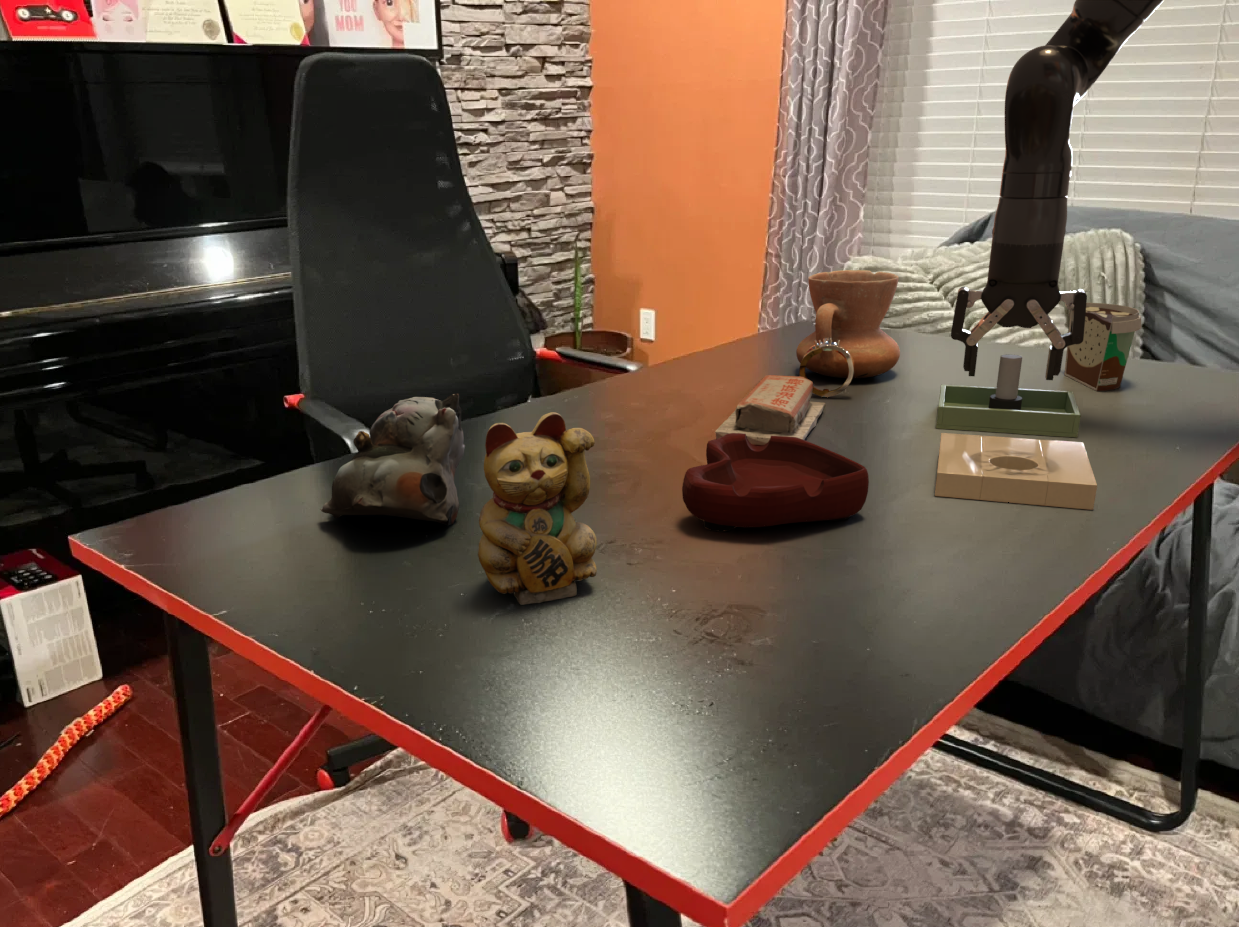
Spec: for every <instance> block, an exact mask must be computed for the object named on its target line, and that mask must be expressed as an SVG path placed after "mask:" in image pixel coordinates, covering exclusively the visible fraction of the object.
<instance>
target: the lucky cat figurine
mask: <svg viewBox="0 0 1239 927" xmlns="http://www.w3.org/2000/svg"><path fill="white" fill-rule="evenodd" d="M464 440H465V439H464V430H463V428H462V408H461V407H460V394H459V393H453V394H451V395H449V396H447V398H445V399H443V400H439V399H436V398H435V397H427V396H426V397H425V396H413V397H410V398H405V399H400V400H398V401H397V403H395V404H394V405H393V407H392V408H390V409H389V408H388V410H385V411H384V412H383V413H381V414H380V415H379V416H378V417H377V418H376V420H375V421H374V422H373V424H372V425H371V427H370V429H369V433H368V432H366V431H363V430H359V431H358V432H357V434H356V435H355V438H353V442H352V443H353V445H354V446H355V448H356V450H357V453H356V454H355V455H354V456H352V458H351V459H350V461H348V462H347V463H345V464H343V465H342V466H340V467H339V469H338V471H337V473H336V474H335V477H334V479H333V481H332V483H331V497H330V500H329V501H326V502H325V503H323V505H322V508H319V510H320V511H321V512H322V513H324V514H329V515H331V516H332V517H334V518H335V519H339V518H340V517H342V516H389V517H397V518H403V519H404V518H405V519H412V520H420V521H427V522H436V523H439V524H442V525H445V526H450V525H453V524H454V522H455V520H456V519H457V517H458V514H459V508H460V503H459V502H460V500H459V497H458V490H457V487H456V485H455V475H456V470H457V468H458V466H459V464H460V462H461V460H462V459H463V457H464V454H465V447H466V445H465V443H464Z"/></svg>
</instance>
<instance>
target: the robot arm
mask: <svg viewBox="0 0 1239 927" xmlns="http://www.w3.org/2000/svg"><path fill="white" fill-rule="evenodd" d="M1164 1H1165V0H1075V1H1074V3H1073V6H1072V10H1071V12H1070V14H1069V15H1068V16H1067V18H1066V19H1065V21H1064V22H1063V23H1062V24H1061V25H1060V27H1059V28H1058V29H1057V30H1056V31H1055V33H1054V34H1053V35H1052V37H1050V39H1049V40H1048V41H1047V42H1046V43H1045V45H1040V46H1037V47H1034V48H1032V49H1030V50H1029V51H1028V50H1027V51H1026V52H1025V53H1024V54H1023V55H1022V56H1021V57H1020V58H1019V59H1017V61H1016V62H1015V64H1014V65H1013V67H1012V69H1011V71H1010V73H1009V76H1008V79H1007V83H1006V89H1005V96H1004V144H1005V147H1004V148H1005V152H1004V153H1005V154H1004V160H1003V164H1002V172H1001V178H1000V180H1001V181H1000V188H999V198H998V204H997V206H996V210H995V213H994V214H995V215H994V221H993V227H992V230H991V235H992V237H991V245H990V254H989V263H988V271H987V281H986V283H985V287H984V288H983V289H971V288H970V289H969V288H968V287H967V286H960V287H959V289H958V290H957V294H956V300H955V307H954V313H953V317H952V318H953V319H952V324H951V331H950V332H951V333H950V337H951V339H952V340H953V341H954V340H955V341H959V342H960V343H962V344H964V356H963V365H962V366H963V367H962V368H963V370H964V372H968V377H976V369H977V359H978V352H979V342H980V341H981V340H982V339H983V337H984V336H986V335H987V333H989V332H990V331H991V330H992V329H993V328H994V327H995V326H996V325H998V326H1000V327H1001V328H1014V327H1018V328H1019V327H1020V328H1023V329H1032V328H1034V327H1036V326H1038V325H1039V327H1040V328H1041V329H1042V331H1043V333H1044V334H1045V335H1046V337H1047V338H1048V340H1049V341H1050V342H1051V345H1049V346H1048V355H1047V362H1046V368H1045V381H1053V380H1054V377H1055V376H1059V375H1060V373H1061V371H1062V363H1063V356H1064V352H1065V349H1067V346H1070V345H1074V344H1080V343H1082V342H1083V339H1084V327H1085V315H1086V304H1087V303H1088V295H1087V293H1086V291H1085V290H1084V289H1082V288H1077V289H1075V290H1073V291H1071V290H1070V291H1060V289H1059V279H1060V272H1061V264H1062V259H1063V258H1062V257H1063V250H1064V244H1065V243H1064V242H1065V236H1066V232H1067V231H1066V230H1067V222H1068V199H1069V198H1068V196H1069V189H1070V182H1071V176H1072V167H1073V148H1072V146H1071V144H1070V134H1071V129H1072V128H1071V127H1072V119H1073V111H1074V106H1075V105H1076V104H1078V102H1079V101H1080V100H1081V99H1082V98H1083V97H1084V96H1085V95H1086V94H1087V92H1088V91H1089V90H1090V89H1091V88H1092V86H1094V84H1095V83H1096V81H1097V80H1098V79H1099V78H1100V76H1101V75H1102V74H1103V72H1104V71H1105V70H1106V68H1107V67H1108V66H1109V65H1110V63H1111V62H1112V60H1113V59H1114V58H1115V56H1116V55H1117V54H1118V52H1119V51H1120V49H1121V48H1122V46H1123V45H1125V43H1126V42H1127V41H1128V39H1129V38H1130V37H1131V36H1132V35H1133V34H1135V32H1136V31H1137V30H1138V29H1139V28H1141V27H1142V26H1143V24H1145V21H1147V20H1148V19H1149V18H1150V16H1151V15H1152V14H1153V13H1154V12H1155V10H1157V9H1158V8H1159V7H1160V5H1161V4H1162V3H1163V2H1164ZM978 300H981V303H982V304H983V305H984V307H985V308H986V310H987V311H988V312H986V314H984V316H983V317H981V319H979V321H978V323H977V324H976V325H975V326H973V328H971V330H970V331H969V330H967V329H964V323H965V318H966V313H967V309H971V308H972V307H974V305H975V303H976V302H977V301H978ZM1060 302H1063V303H1064V304H1065V307H1066V309H1067V310H1068V311H1069V310H1071V311H1072V318H1071V331H1070V333H1069V332H1066V333H1063V334H1062V332H1060V330H1059V329H1058V327H1057V326H1056V324H1055V323H1054V320H1053V319H1052V318H1051V317H1050V315H1049V314H1050V313H1051V312H1052V311H1053V310H1054V309H1055V308H1056V307H1057V306H1058V304H1059V303H1060Z"/></svg>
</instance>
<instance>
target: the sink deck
mask: <svg viewBox="0 0 1239 927" xmlns="http://www.w3.org/2000/svg"><path fill="white" fill-rule="evenodd" d="M939 440H940V441H939V448H938V449H939V450H938V459H937V468H936V469H937V470H936V477H935V488H934V496H935V497H942V498H953V499H955V498H956V499H965V500H975V501H976V500H977V501H987V502H997V503H998V502H999V503H1008V502H1009V504H1020V505H1033V506H1043V507H1055V508H1066V509H1078V510H1088V511H1090V510H1091V511H1094V508H1095V502H1096V496H1097V491H1098V484H1097V480H1096V478H1095V473H1094V471H1093V468H1092V465H1091V462H1090V460H1089V456H1088V453H1087V450H1086V447H1085V443H1084V442H1083V441H1082V442H1081V441H1067V440H1052V439H1037V438H1020V437H1009V436H1008V437H1007V436H992V435H991V436H990V435H979V434H977V435H976V434H965V433H963V434H962V433H949V432H941V433H940V439H939Z"/></svg>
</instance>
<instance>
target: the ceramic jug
mask: <svg viewBox="0 0 1239 927" xmlns="http://www.w3.org/2000/svg"><path fill="white" fill-rule="evenodd" d="M807 280H808V290H809V295H810V299H811V302H812V305H813V309H814V311H815V320H814V321H815V322H814V324H815V326H814V331H813V332H812V333H810V334H809V335H807V336H805V338H804V339H802V340H801V341H800V342H799V343H798V345H797V348H796V351H795V352H796V353H795V355H796V358H797V361H798V362H799V365H800V364H801V361H802V359H803V357H804V355H805V354H806V352H807V351H808V350H809V349H810V348H811V347H812V346H814V345H815V343H814V341H815V340H817V344H818V343H819V340H821V342H823V338H829V337H831V338H832V339H831V340H832V342H836V343H837V340H840V341H839V345H838V346H840V347H842V348H844V349H845V350H846V351H847V352H848V353H849V354H850V355H851V356H852V358H853V361H854V365H855V371H854V376H853V378H852V379H865V378H866V379H867V378H872V377H876V376H880V375H882V374H885V373H887V372H889V371H890V370H891V369H893V368H894V367H895V366H896V365H897V363H898V362H899V359H900V356H901V350H900V349H901V348H900V346H899V344H898V343H897V342H896V340H895V339H893V337H891V336H890V335H888V334H887V333H886V332H885V331H884V330H882V329H881V324H882V322H883V321H884V319H885V317H886V315H887V313H888V311H889V309H890V306H891V305H892V302H893V300H894V298H895V294H896V291H897V289H898V288H897V287H898V284H899V275H897V274H896V273H891V272H888V271H876V272H875V273H874V272H872V271H871V270H866V269H845V270H844V269H843V270H833V271H823V272H818V273H814V274H812V275H810V276H808V278H807ZM805 369H807V370H809V371H811V372H813V373H816V374H818V375H821V376H825V377H830V378H837V379H847V377H848V373H849V367H848V363H847V361H846V359H845V358H844V357H843V356H842V355H841V354H839V353H838V352H836V351H835V350H832V351H823V350H822V352H821V353H819V354H817V355H815V356H813V357H812V358H811V359H810V360H809V361H808V362H807V364H806V368H805Z"/></svg>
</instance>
